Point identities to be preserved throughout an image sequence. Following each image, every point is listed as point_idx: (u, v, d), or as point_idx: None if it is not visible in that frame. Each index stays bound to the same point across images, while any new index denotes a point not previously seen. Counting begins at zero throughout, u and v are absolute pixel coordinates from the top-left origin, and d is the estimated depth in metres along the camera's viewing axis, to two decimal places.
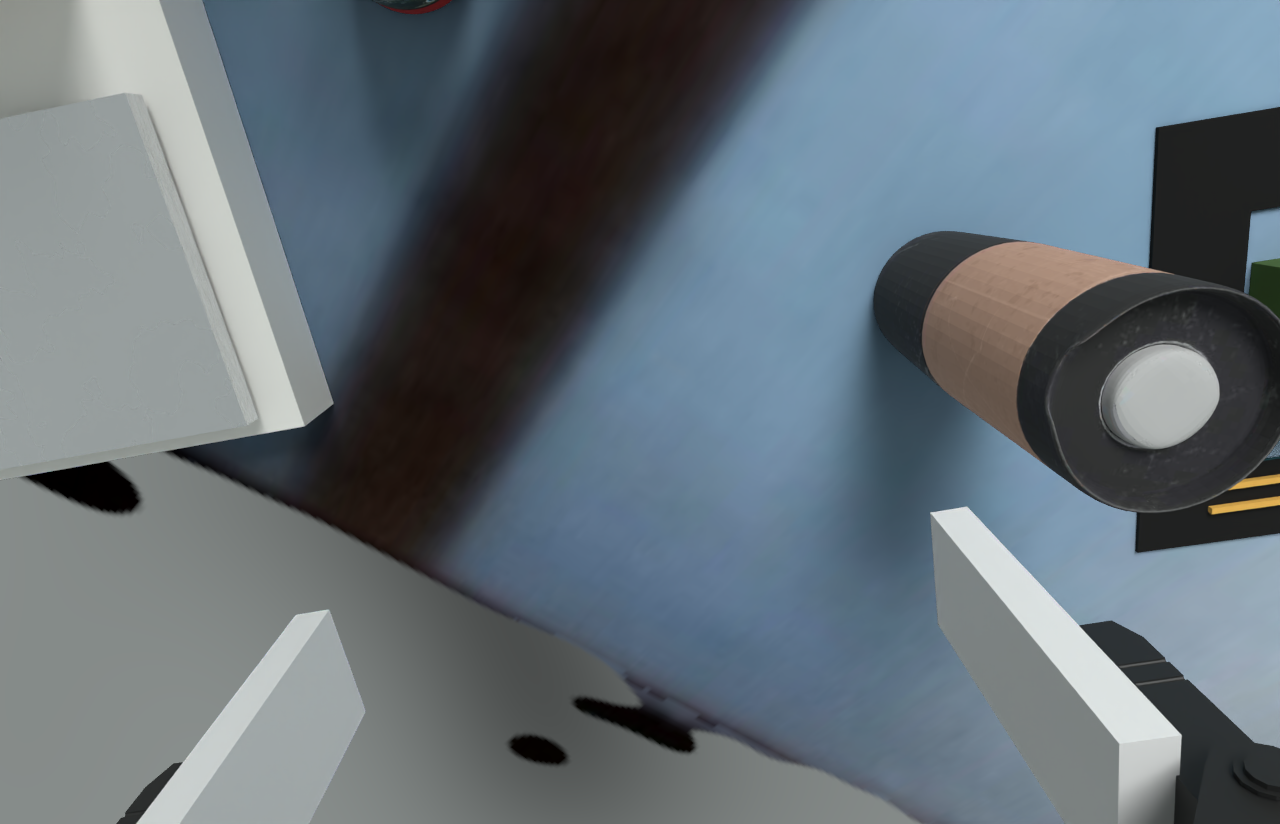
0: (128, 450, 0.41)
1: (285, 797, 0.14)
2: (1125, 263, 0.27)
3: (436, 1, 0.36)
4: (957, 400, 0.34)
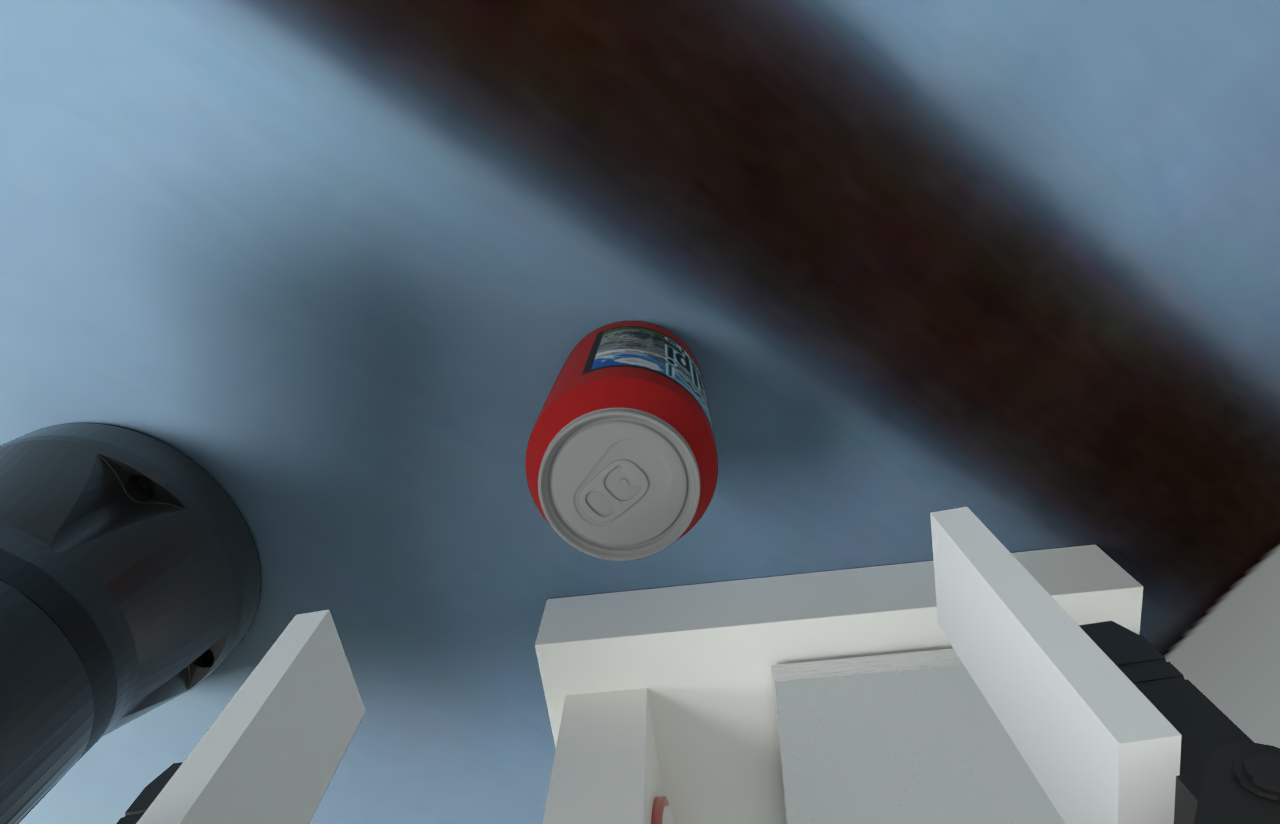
0: None
1: (285, 798, 0.14)
2: None
3: (699, 372, 0.34)
4: None
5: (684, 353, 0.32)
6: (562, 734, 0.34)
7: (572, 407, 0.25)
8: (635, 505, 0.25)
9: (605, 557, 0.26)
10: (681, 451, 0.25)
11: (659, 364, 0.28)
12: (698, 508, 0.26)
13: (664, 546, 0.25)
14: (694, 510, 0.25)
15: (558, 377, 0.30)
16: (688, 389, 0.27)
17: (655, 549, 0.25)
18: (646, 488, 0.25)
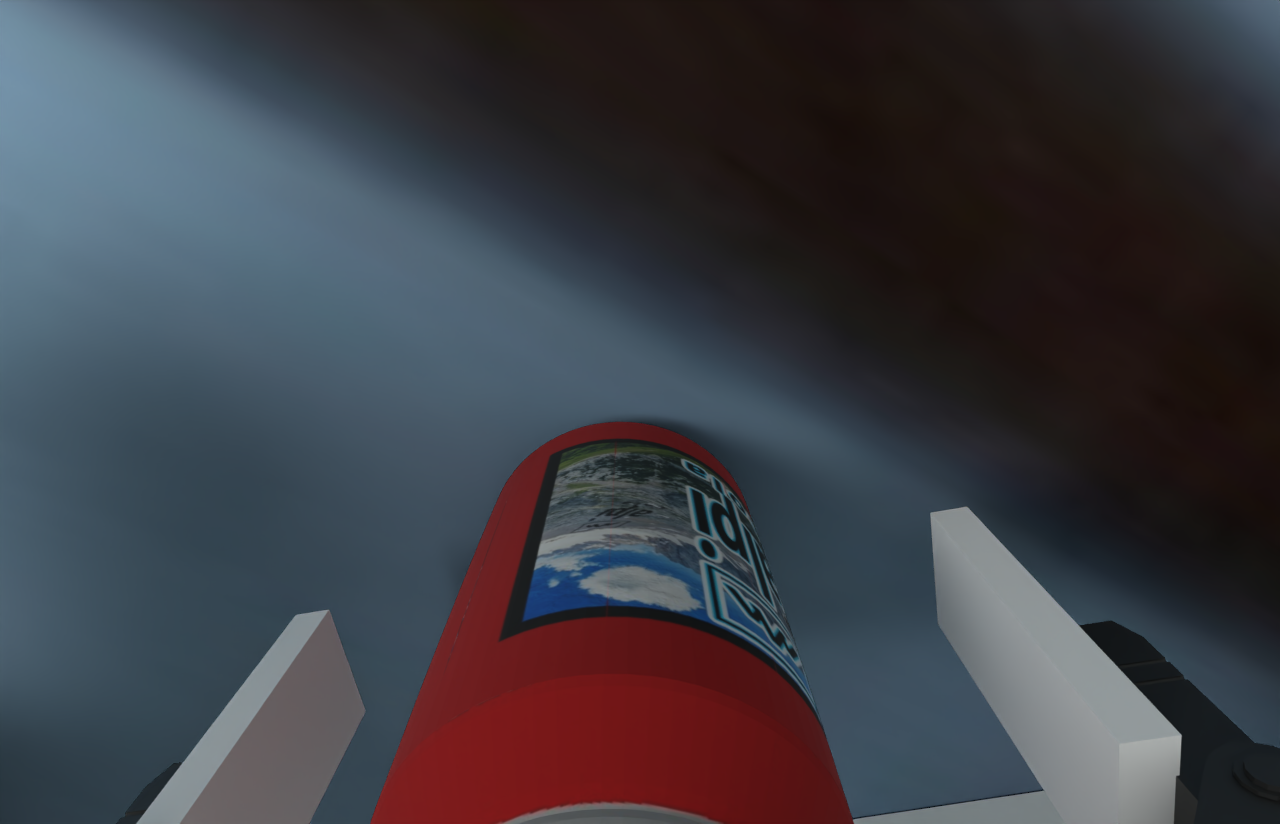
0: None
1: (285, 797, 0.14)
2: None
3: (749, 515, 0.18)
4: None
5: (722, 492, 0.16)
6: None
7: (465, 789, 0.09)
8: None
9: None
10: None
11: (687, 578, 0.12)
12: None
13: None
14: None
15: (466, 581, 0.14)
16: (764, 647, 0.11)
17: None
18: None
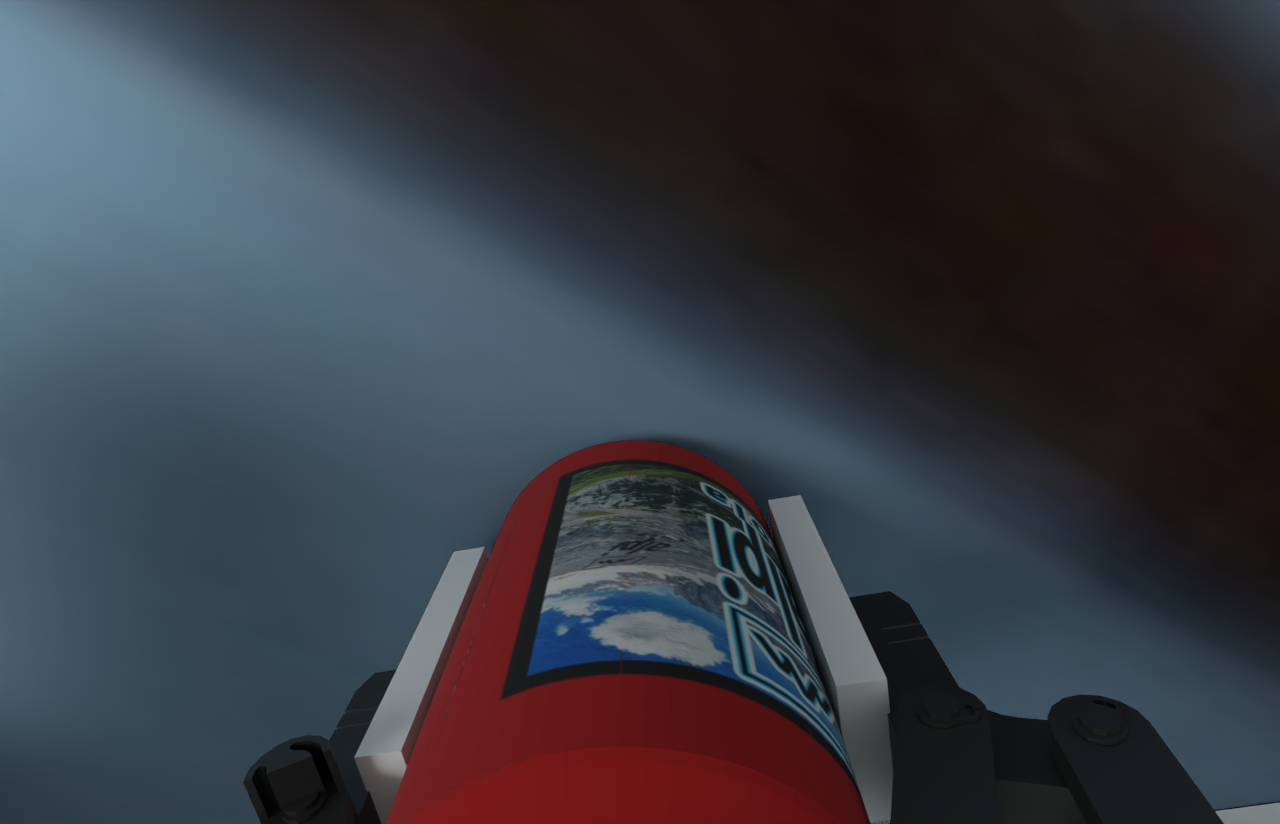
0: None
1: None
2: None
3: (773, 542, 0.16)
4: None
5: (745, 519, 0.15)
6: None
7: None
8: None
9: None
10: None
11: (710, 625, 0.11)
12: None
13: None
14: None
15: (468, 617, 0.13)
16: (796, 706, 0.10)
17: None
18: None
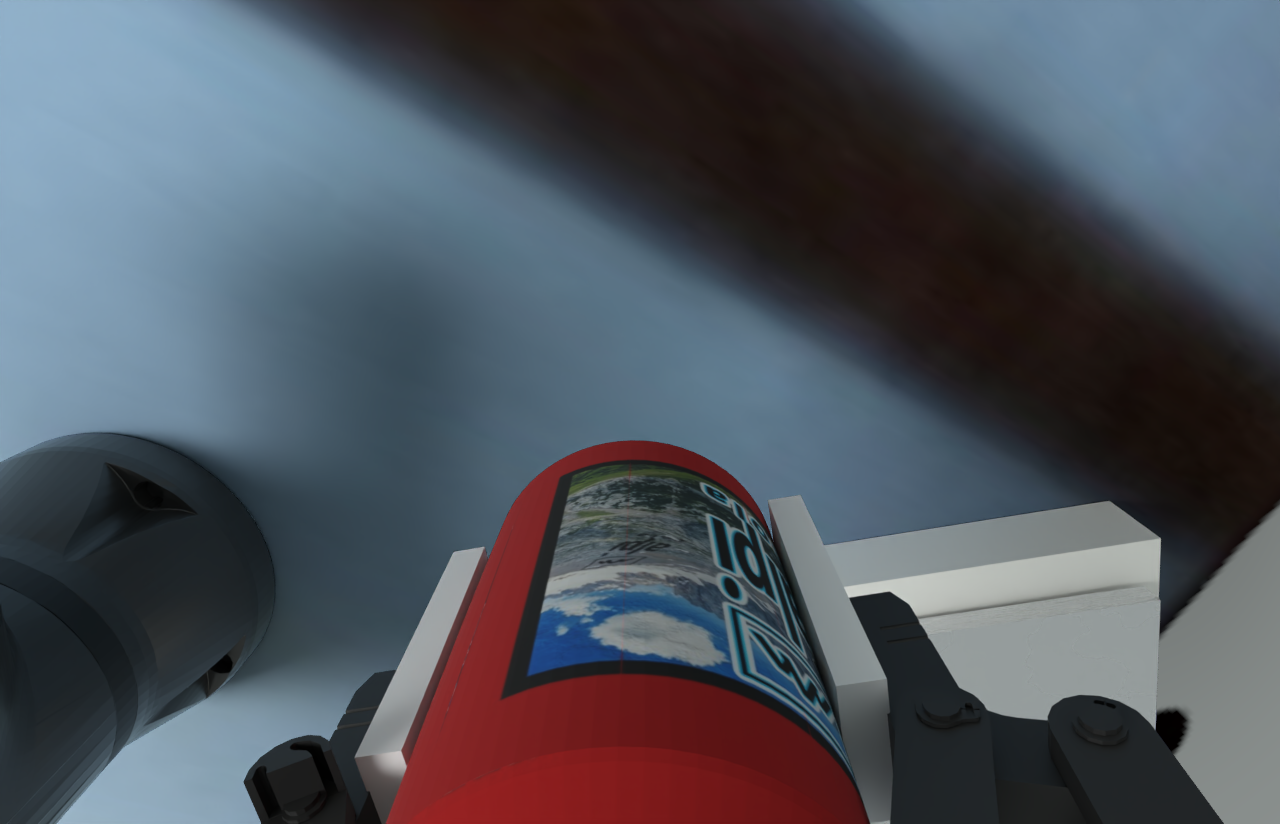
0: None
1: None
2: None
3: (773, 542, 0.16)
4: None
5: (744, 520, 0.15)
6: None
7: None
8: None
9: None
10: None
11: (710, 625, 0.11)
12: None
13: None
14: None
15: (468, 617, 0.13)
16: (796, 706, 0.10)
17: None
18: None
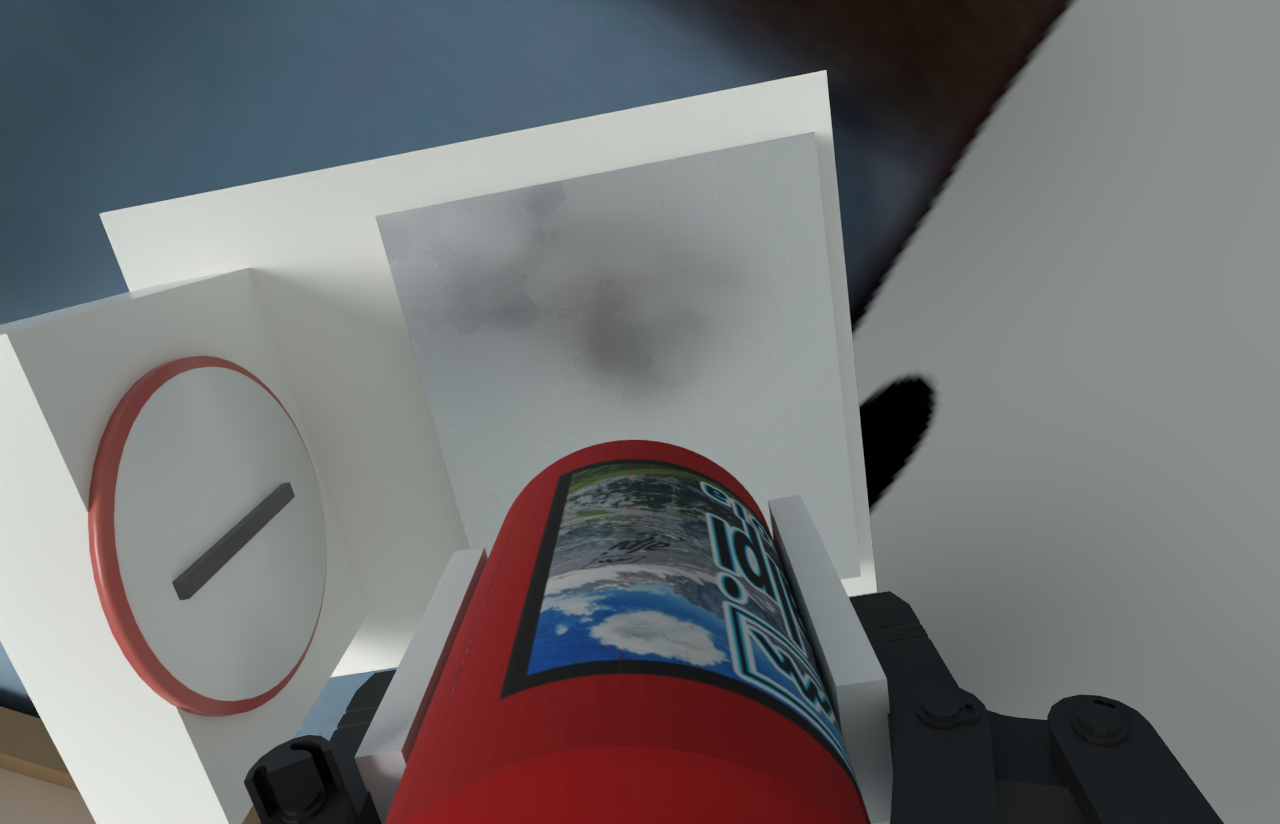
0: (842, 333, 0.31)
1: None
2: None
3: (773, 541, 0.16)
4: None
5: (744, 519, 0.15)
6: (112, 296, 0.27)
7: None
8: None
9: None
10: None
11: (710, 625, 0.11)
12: None
13: None
14: None
15: (467, 617, 0.13)
16: (796, 705, 0.10)
17: None
18: None
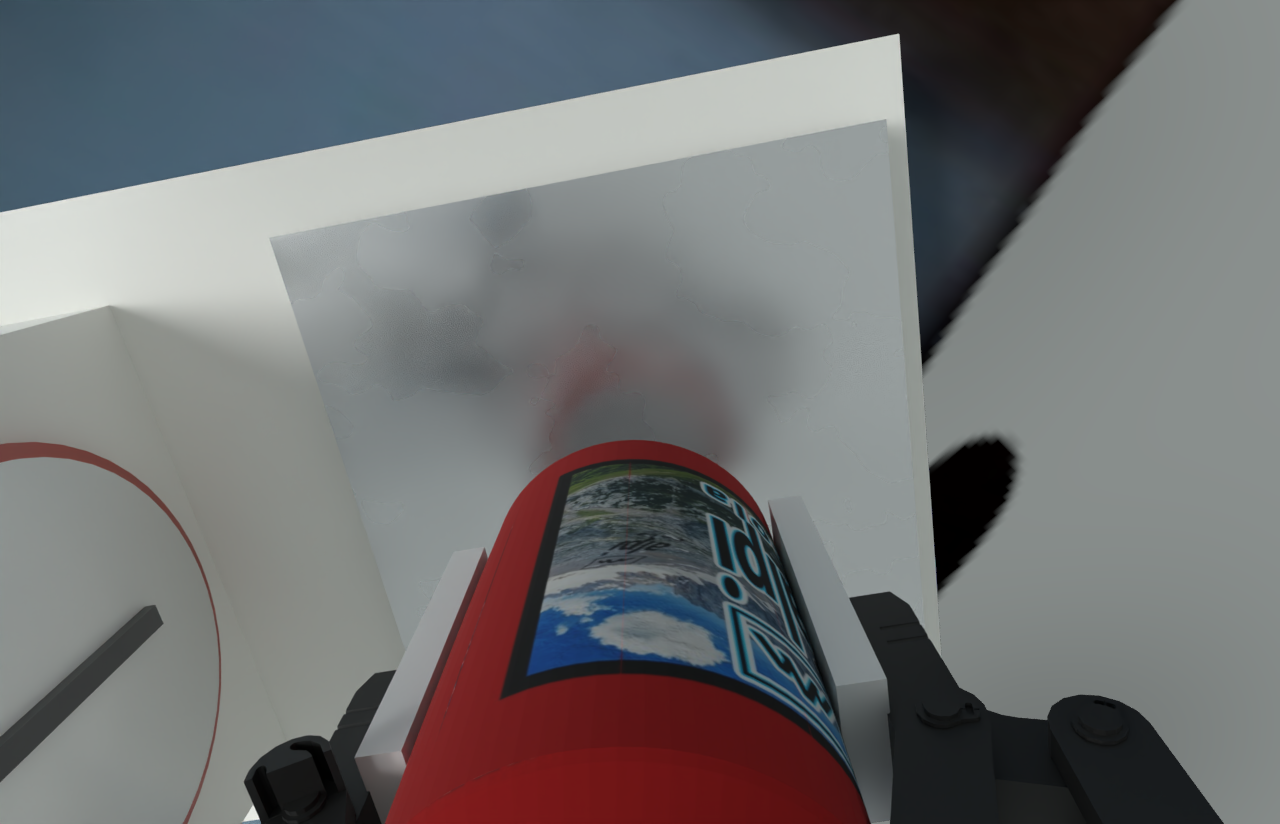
0: (910, 392, 0.23)
1: None
2: None
3: (773, 542, 0.16)
4: None
5: (745, 519, 0.15)
6: None
7: None
8: None
9: None
10: None
11: (710, 625, 0.11)
12: None
13: None
14: None
15: (467, 617, 0.13)
16: (796, 706, 0.10)
17: None
18: None
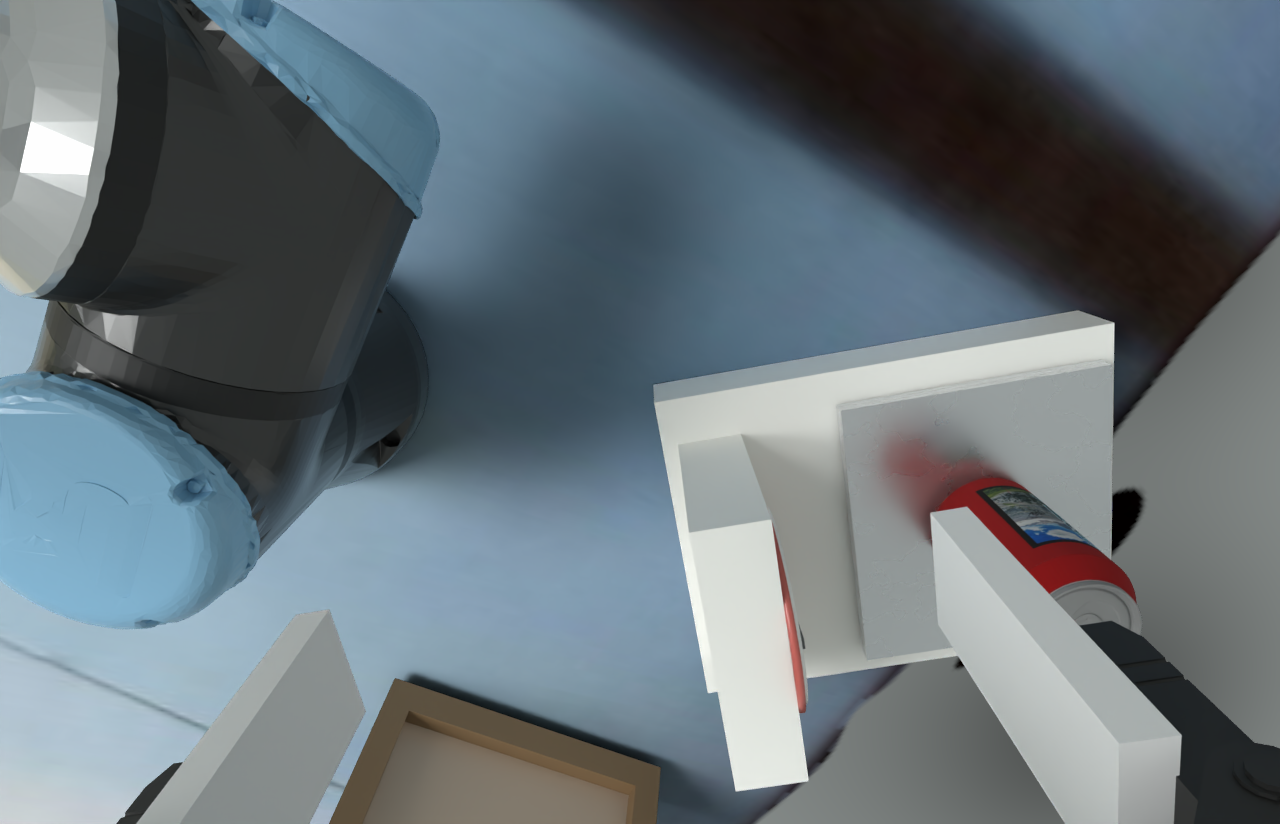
0: None
1: (285, 797, 0.14)
2: None
3: None
4: None
5: None
6: (683, 459, 0.45)
7: (1050, 579, 0.36)
8: None
9: None
10: (1129, 606, 0.36)
11: (1074, 533, 0.39)
12: None
13: None
14: None
15: None
16: None
17: None
18: None
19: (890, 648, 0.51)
